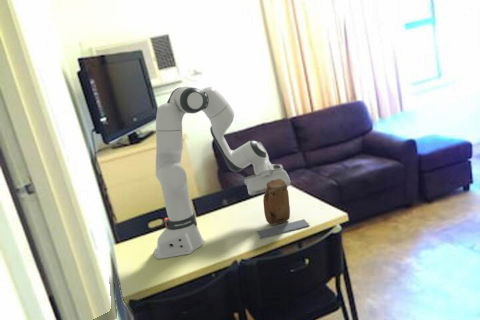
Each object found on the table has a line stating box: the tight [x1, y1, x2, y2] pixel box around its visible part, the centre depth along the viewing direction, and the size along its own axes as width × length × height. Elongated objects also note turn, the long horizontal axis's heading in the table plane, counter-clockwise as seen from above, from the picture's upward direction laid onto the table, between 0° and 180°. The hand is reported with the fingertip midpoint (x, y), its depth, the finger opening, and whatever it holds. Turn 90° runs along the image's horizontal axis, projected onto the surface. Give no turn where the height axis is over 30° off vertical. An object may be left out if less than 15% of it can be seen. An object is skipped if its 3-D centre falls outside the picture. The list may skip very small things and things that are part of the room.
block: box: [263, 179, 291, 225], centre depth 187 cm, size 11×8×20 cm
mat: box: [257, 218, 310, 240], centre depth 183 cm, size 22×8×1 cm, turn 99°
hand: (273, 197), depth 191 cm, fingers closed
